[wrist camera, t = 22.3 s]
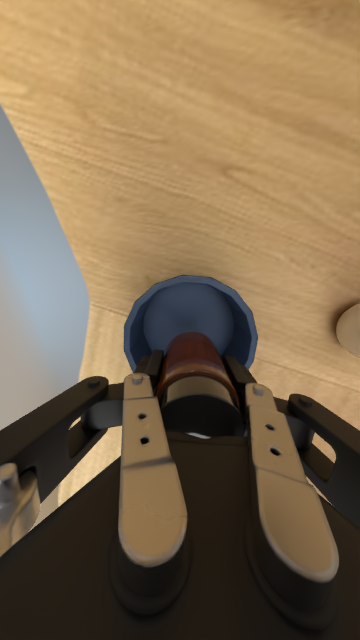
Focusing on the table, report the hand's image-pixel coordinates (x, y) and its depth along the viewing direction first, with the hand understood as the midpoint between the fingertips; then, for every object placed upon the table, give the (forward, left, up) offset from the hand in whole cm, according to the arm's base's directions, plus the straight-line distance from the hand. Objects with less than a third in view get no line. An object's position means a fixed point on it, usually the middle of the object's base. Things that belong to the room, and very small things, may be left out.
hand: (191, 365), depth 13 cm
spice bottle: (0, 0, -1) cm, 1 cm away
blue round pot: (0, 0, -11) cm, 11 cm away
